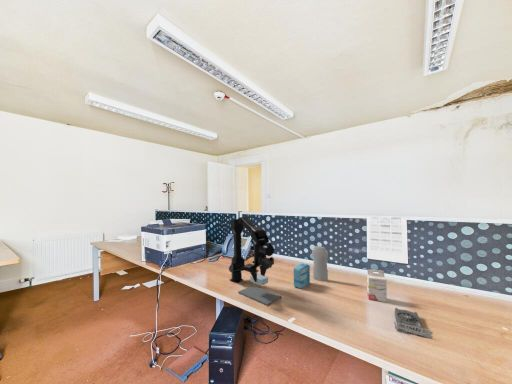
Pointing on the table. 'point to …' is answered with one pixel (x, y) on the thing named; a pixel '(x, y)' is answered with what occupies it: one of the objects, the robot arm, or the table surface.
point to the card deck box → (260, 279)
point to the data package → (301, 275)
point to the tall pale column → (320, 263)
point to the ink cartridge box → (376, 286)
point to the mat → (260, 295)
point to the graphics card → (410, 323)
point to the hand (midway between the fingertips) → (259, 280)
